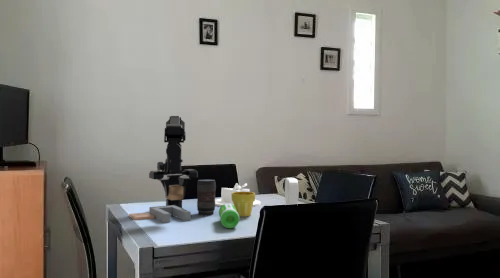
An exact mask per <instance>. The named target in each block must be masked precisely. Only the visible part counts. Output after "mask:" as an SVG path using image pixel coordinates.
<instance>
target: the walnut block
mask: <svg viewBox="0 0 500 278" xmlns="http://www.w3.org/2000/svg"><path fill="white" fill-rule="evenodd" d="M165 199H169V200H181V199H182V200H184V196H183V186H180V185H169V194H168V196H166V197H165Z"/></svg>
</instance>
